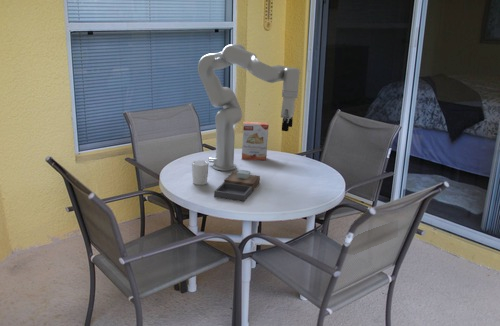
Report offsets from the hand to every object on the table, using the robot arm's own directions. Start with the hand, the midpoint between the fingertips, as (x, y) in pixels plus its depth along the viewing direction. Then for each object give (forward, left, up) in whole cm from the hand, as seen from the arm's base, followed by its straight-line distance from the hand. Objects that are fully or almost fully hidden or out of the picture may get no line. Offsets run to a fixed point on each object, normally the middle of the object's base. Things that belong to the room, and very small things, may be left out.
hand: (286, 128), depth 240 cm
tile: (-16, -16, -22) cm, 32 cm away
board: (-16, -18, -26) cm, 36 cm away
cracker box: (-23, +27, -26) cm, 44 cm away
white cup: (-36, -22, -26) cm, 50 cm away
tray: (-16, -31, -26) cm, 44 cm away
